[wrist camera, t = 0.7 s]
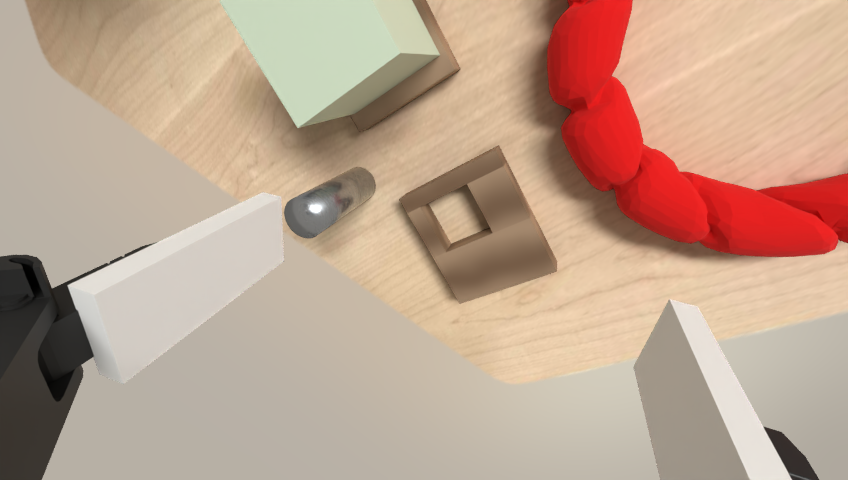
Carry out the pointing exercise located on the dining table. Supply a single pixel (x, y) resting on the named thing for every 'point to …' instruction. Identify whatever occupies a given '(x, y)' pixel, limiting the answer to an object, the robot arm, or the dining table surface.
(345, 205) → the peg
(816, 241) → the decorative ring
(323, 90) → the pale green cube
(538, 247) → the square hole block
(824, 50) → the dining table surface
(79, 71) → the dining table surface
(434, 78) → the board
